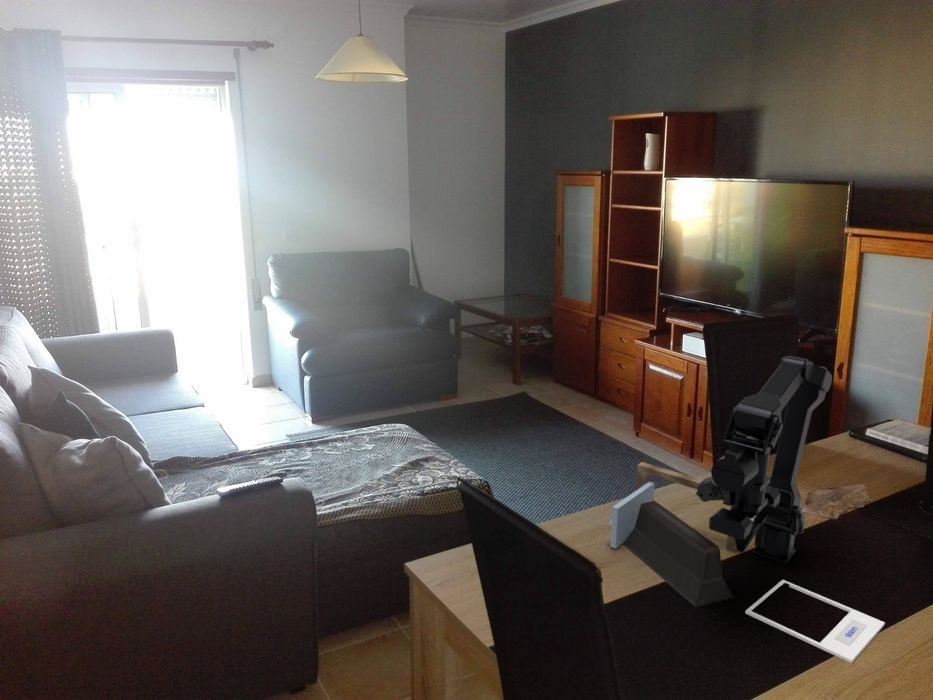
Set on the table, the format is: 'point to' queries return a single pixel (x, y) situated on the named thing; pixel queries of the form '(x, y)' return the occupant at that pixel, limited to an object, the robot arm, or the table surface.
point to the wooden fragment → (835, 501)
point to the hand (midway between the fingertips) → (740, 551)
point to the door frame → (675, 477)
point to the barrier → (678, 555)
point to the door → (628, 513)
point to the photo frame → (844, 637)
